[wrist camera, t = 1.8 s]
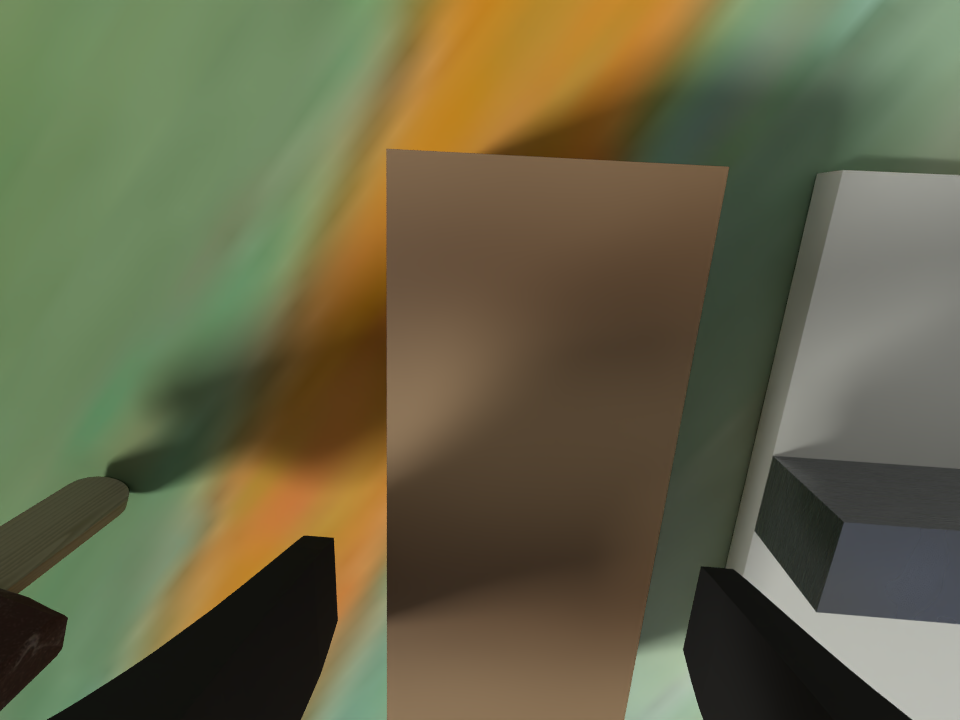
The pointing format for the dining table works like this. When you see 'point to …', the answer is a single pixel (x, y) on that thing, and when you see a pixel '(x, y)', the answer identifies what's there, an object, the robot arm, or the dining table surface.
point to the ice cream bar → (29, 554)
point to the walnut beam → (532, 421)
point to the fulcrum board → (867, 439)
